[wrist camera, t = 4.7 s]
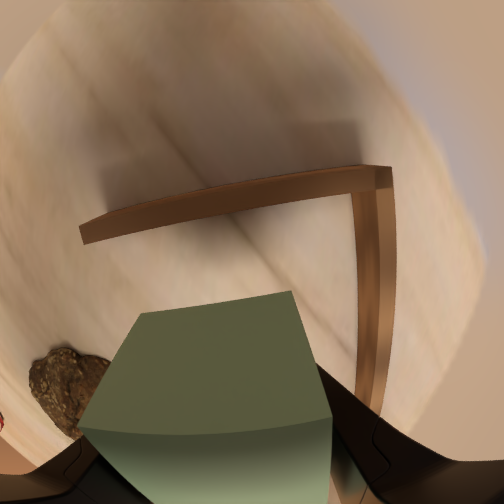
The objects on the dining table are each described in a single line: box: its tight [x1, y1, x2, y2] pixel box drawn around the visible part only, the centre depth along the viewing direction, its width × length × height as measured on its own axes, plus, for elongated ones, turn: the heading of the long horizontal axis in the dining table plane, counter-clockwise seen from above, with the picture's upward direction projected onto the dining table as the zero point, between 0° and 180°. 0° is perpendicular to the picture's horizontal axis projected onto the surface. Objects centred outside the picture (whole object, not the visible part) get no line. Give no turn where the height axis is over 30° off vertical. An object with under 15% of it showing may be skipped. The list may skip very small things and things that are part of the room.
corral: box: [79, 165, 397, 418], centre depth 17 cm, size 23×16×4 cm
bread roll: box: [29, 348, 111, 441], centre depth 19 cm, size 13×12×5 cm
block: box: [77, 291, 333, 504], centre depth 7 cm, size 5×5×5 cm
